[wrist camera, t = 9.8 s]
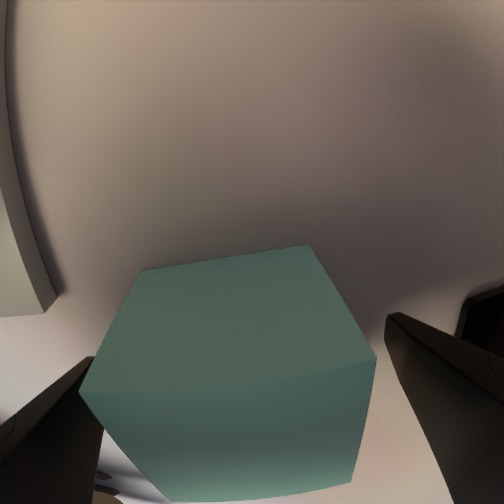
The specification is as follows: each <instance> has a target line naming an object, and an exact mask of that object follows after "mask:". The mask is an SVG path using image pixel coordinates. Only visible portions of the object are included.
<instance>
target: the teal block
mask: <svg viewBox="0 0 504 504" xmlns="http://www.w3.org/2000/svg"><path fill="white" fill-rule="evenodd" d="M376 360H377V358H376V356H375V354H374V352H373V351H372V349H371V347H370V345H369V343H368V342H367V340H366V338H365V336H364V335H363V333H362V331H361V329H360V328H359V326H358V324H357V323H356V321H355V319H354V317H353V316H352V314H351V312H350V311H349V309H348V307H347V306H346V304H345V302H344V301H343V299H342V297H341V296H340V294H339V292H338V291H337V289H336V287H335V286H334V284H333V282H332V281H331V279H330V277H329V276H328V274H327V273H326V271H325V269H324V268H323V266H322V264H321V263H320V261H319V260H318V258H317V256H316V255H315V253H314V252H313V250H312V248H311V247H310V245H309V244H307V245H300V246H294V247H288V248H281V249H275V250H269V251H262V252H256V253H250V254H243V255H237V256H231V257H224V258H218V259H212V260H205V261H199V262H193V263H186V264H180V265H174V266H167V267H161V268H155V269H148V270H142V271H141V272H140V273H139V275H138V277H137V279H136V280H135V282H134V284H133V286H132V287H131V289H130V291H129V293H128V295H127V296H126V298H125V300H124V302H123V304H122V305H121V307H120V309H119V311H118V313H117V315H116V317H115V319H114V320H113V322H112V324H111V326H110V328H109V330H108V332H107V334H106V336H105V338H104V340H103V342H102V344H101V346H100V348H99V350H98V352H97V354H96V356H95V358H94V360H93V362H92V364H91V366H90V368H89V370H88V372H87V374H86V376H85V378H84V381H83V383H82V385H81V387H80V389H79V391H78V392H79V394H80V395H81V397H82V398H83V399H84V401H85V402H86V404H87V405H88V407H89V408H90V410H91V411H92V412H93V414H94V415H95V417H96V418H97V419H98V421H99V422H100V423H101V425H102V426H103V427H104V429H105V430H106V431H107V432H108V434H109V435H110V436H111V437H112V439H113V440H114V441H115V442H116V444H117V445H118V446H119V447H120V449H121V450H122V451H123V452H124V453H125V454H126V456H127V457H128V458H129V459H130V460H131V461H132V463H133V464H134V465H135V466H136V467H137V468H138V469H139V470H140V471H141V472H142V474H143V475H144V476H145V477H146V478H147V479H148V480H149V481H150V482H151V483H152V484H153V485H154V486H155V487H156V488H157V489H158V490H159V491H160V492H161V493H162V494H163V495H164V496H165V497H166V498H167V499H168V500H169V501H172V502H225V501H242V500H254V499H263V498H272V497H279V496H286V495H293V494H299V493H304V492H309V491H315V490H319V489H324V488H329V487H333V486H337V485H341V484H345V483H349V482H351V478H352V475H353V471H354V467H355V464H356V460H357V456H358V452H359V448H360V444H361V440H362V435H363V431H364V427H365V422H366V417H367V412H368V407H369V402H370V397H371V391H372V385H373V379H374V373H375V366H376Z"/></svg>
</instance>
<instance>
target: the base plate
mask: <svg viewBox="0 0 504 504" xmlns="http://www.w3.org/2000/svg"><path fill="white" fill-rule="evenodd" d="M7 2H8V0H0V317H9V316H21V315H33V314H43V313H45V312H46V311H47V310H48V308H49V307H50V306H51V305H52V304H53V303H54V301H55V300H56V299H57V296H56V294H55V291H54V289H53V287H52V284H51V282H50V279H49V277H48V274H47V271H46V269H45V266H44V263H43V261H42V258H41V255H40V252H39V249H38V246H37V243H36V240H35V237H34V234H33V231H32V227H31V224H30V221H29V217H28V214H27V210H26V206H25V203H24V199H23V195H22V191H21V187H20V182H19V178H18V173H17V168H16V163H15V158H14V153H13V147H12V141H11V134H10V127H9V119H8V110H7V99H6V85H5V25H6V12H7Z"/></svg>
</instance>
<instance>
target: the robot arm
mask: <svg viewBox="0 0 504 504" xmlns="http://www.w3.org/2000/svg"><path fill="white" fill-rule="evenodd" d="M384 341H385V345H386V347H387V350H388V352H389V355H390V358H391V360H392V363H393V366H394V368H395V371H396V374H397V377H398V379H399V382H400V384H401V386H402V388H403V390H404V392H405V394H406V396H407V398H408V400H409V402H410V404H411V406H412V408H413V410H414V412H415V415H416V417H417V419H418V421H419V423H420V425H421V427H422V429H423V432H424V434H425V436H426V438H427V440H428V442H429V445H430V447H431V449H432V451H433V454H434V456H435V458H436V461H437V463H438V465H439V468H440V470H441V472H442V475H443V477H444V479H445V482H446V484H447V487H448V488H449V489H448V490H449V492H450V495H451V497H452V500H453V502H454V504H504V286H501V287H498V288H495V289H493V290H490V291H487V292H484V293H481V294H478V295H476V296H473V297H471V298H469V299H468V300H467V301H466V302H465V304H464V305H463V308H462V311H461V315H460V319H459V323H458V327H457V331H456V334H455V337H454V336H452V335H449V334H447V333H445V332H443V331H441V330H438V329H436V328H434V327H432V326H430V325H427V324H425V323H423V322H421V321H419V320H416V319H414V318H412V317H410V316H407V315H405V314H403V313H401V312H396V313H392V314H389V315H387V317H386V322H385V331H384ZM94 358H95V356H89V357H86V358H85V359H83V360H82V361H81V362H79V363H78V364H77V365H76V366H74V367H73V368H72V369H71V370H69V371H68V372H67V373H65V374H64V375H63V376H62V377H60V378H59V379H58V380H57V381H55V382H54V383H53V384H52V385H50V386H49V387H48V388H47V389H45V390H44V391H43V392H41V393H40V394H39V395H38V396H36V397H35V398H34V399H33V400H31V401H30V402H29V403H28V404H26V405H25V406H24V407H23V408H22V409H20V410H19V411H18V412H17V413H16V414H14V415H13V416H12V417H10V418H9V419H8V420H7V421H5V422H4V423H3V424H1V425H0V504H92V501H93V493H94V486H95V479H96V472H97V466H98V459H99V454H100V448H101V442H102V437H103V432H104V427H103V426H102V425H101V423H100V422H99V421H98V419H97V418H96V417H95V415H94V414H93V412H92V411H91V410H90V408H89V407H88V405H87V404H86V402H85V401H84V399H83V398H82V397H81V395H80V394H79V392H78V391H79V389H80V387H81V385H82V383H83V381H84V378H85V376H86V374H87V372H88V370H89V368H90V366H91V364H92V362H93V360H94Z"/></svg>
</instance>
